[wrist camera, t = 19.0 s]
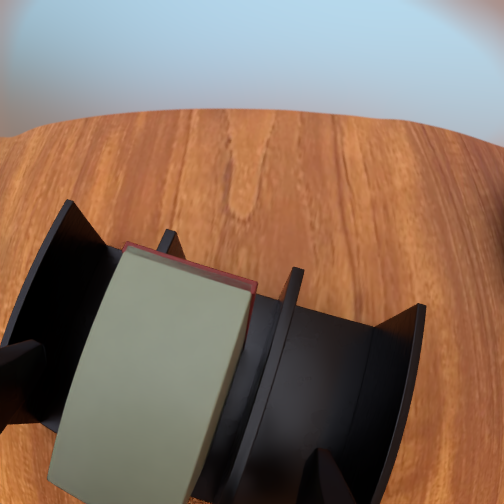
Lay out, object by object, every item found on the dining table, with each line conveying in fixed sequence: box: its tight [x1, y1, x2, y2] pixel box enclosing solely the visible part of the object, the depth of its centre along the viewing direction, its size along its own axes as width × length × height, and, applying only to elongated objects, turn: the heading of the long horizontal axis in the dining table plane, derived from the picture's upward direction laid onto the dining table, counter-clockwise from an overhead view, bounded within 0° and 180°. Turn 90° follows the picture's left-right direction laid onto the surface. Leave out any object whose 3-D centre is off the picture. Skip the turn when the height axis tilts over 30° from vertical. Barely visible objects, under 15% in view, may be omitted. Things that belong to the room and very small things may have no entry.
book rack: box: [0, 199, 426, 504], centre depth 13 cm, size 18×12×6 cm
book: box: [47, 241, 258, 504], centre depth 10 cm, size 3×6×10 cm, turn 163°
